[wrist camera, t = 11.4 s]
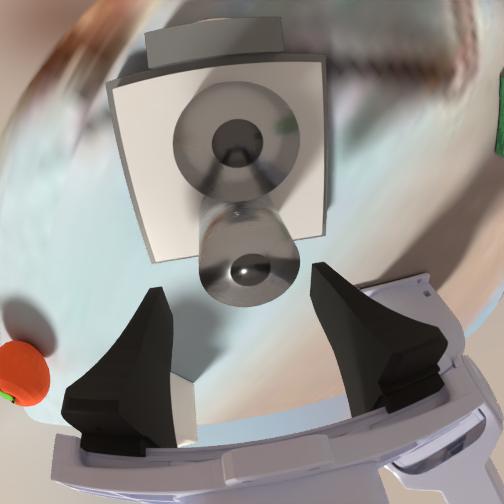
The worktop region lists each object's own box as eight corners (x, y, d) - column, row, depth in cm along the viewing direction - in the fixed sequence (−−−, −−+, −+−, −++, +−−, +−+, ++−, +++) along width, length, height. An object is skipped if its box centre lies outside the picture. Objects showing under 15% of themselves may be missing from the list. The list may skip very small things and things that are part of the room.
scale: (311, 24, 12) (331, 15, 9) (316, 223, 19) (332, 246, 17) (110, 49, 11) (92, 44, 8) (154, 249, 18) (149, 276, 16)
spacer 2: (272, 174, 14) (302, 219, 10) (273, 240, 17) (297, 299, 13) (194, 183, 14) (191, 232, 10) (203, 249, 16) (207, 312, 12)
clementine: (4, 351, 22) (-13, 399, 16) (-8, 314, 19) (-33, 368, 13) (59, 373, 25) (47, 425, 19) (53, 340, 22) (35, 400, 16)
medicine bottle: (143, 354, 24) (137, 476, 14) (195, 382, 28) (204, 487, 18) (105, 377, 26) (95, 478, 16) (154, 400, 30) (155, 491, 20)
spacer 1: (271, 85, 12) (307, 88, 8) (263, 162, 14) (291, 202, 10) (185, 81, 11) (174, 80, 7) (182, 161, 13) (173, 203, 9)
